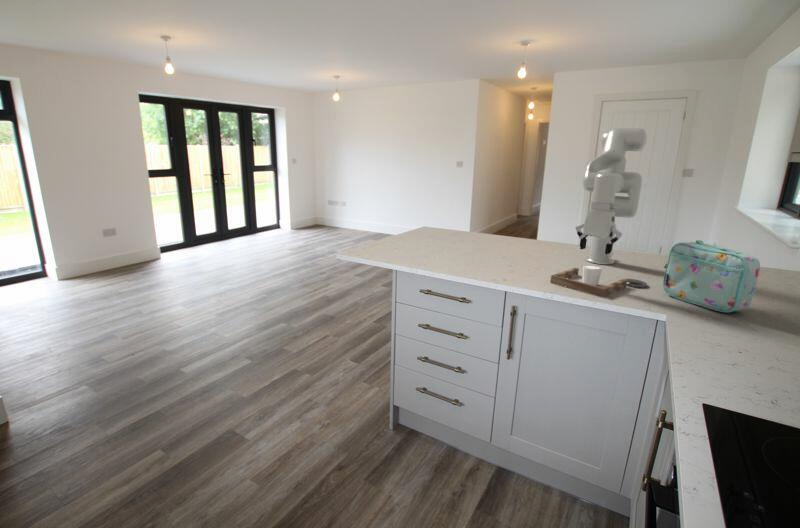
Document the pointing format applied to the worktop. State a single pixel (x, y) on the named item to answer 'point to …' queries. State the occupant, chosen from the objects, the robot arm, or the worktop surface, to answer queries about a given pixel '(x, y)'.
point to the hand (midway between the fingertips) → (594, 251)
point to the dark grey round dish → (636, 283)
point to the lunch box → (711, 276)
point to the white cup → (591, 274)
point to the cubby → (599, 291)
